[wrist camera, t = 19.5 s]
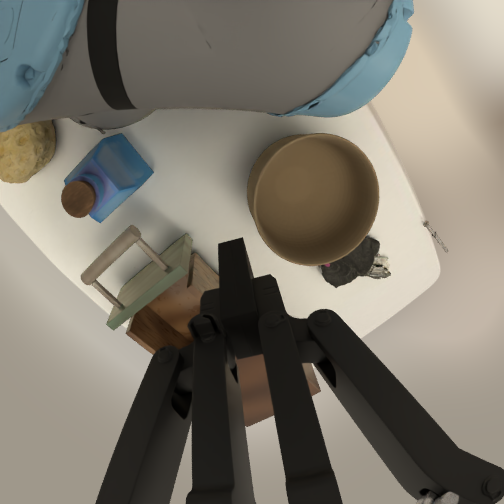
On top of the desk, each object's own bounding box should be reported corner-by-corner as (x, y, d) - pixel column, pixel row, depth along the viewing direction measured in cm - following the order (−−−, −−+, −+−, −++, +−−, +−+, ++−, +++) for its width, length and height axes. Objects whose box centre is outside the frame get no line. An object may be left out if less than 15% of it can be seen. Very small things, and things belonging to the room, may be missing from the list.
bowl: (362, 177, 35) (404, 201, 26) (294, 246, 39) (317, 289, 30) (293, 105, 30) (323, 104, 22) (219, 185, 34) (221, 213, 25)
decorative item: (25, 157, 31) (10, 212, 27) (-12, 114, 23) (-39, 168, 18) (74, 128, 31) (62, 182, 27) (39, 76, 22) (11, 125, 18)
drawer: (90, 258, 35) (68, 291, 28) (153, 197, 33) (137, 221, 26) (192, 347, 44) (191, 387, 37) (257, 306, 41) (265, 345, 34)
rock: (354, 209, 37) (371, 223, 33) (378, 243, 40) (395, 259, 35) (302, 255, 39) (313, 274, 35) (331, 284, 42) (343, 304, 38)
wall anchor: (423, 227, 39) (423, 221, 40) (444, 254, 42) (444, 249, 43) (428, 225, 38) (428, 220, 39) (449, 253, 42) (449, 248, 42)
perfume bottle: (117, 204, 33) (79, 247, 23) (86, 167, 31) (35, 197, 20) (153, 172, 32) (124, 203, 22) (121, 133, 30) (77, 146, 19)
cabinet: (179, 337, 44) (175, 385, 35) (250, 290, 41) (259, 337, 32) (241, 383, 50) (247, 427, 42) (305, 347, 48) (321, 391, 39)
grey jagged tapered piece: (360, 278, 40) (367, 261, 38) (355, 268, 42) (361, 251, 40) (394, 280, 40) (402, 264, 39) (389, 271, 42) (395, 255, 41)
